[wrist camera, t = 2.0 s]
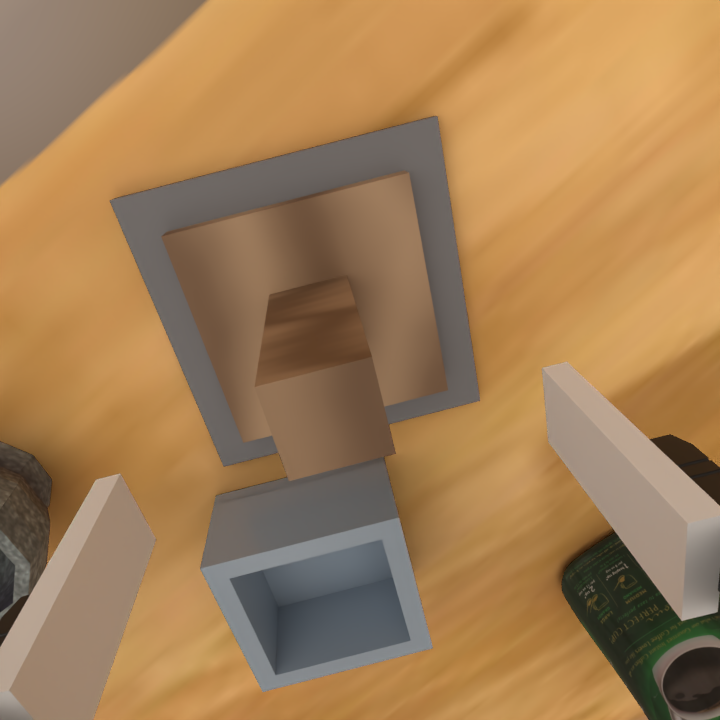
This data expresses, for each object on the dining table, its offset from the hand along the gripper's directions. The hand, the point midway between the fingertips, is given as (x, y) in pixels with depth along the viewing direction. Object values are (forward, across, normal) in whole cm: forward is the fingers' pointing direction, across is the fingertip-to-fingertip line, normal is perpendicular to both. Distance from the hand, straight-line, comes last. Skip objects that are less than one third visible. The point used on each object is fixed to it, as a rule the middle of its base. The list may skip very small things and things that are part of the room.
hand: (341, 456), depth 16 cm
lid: (+13, 0, 0) cm, 13 cm away
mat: (+14, 0, 0) cm, 14 cm away
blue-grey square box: (+14, +4, +16) cm, 22 cm away
